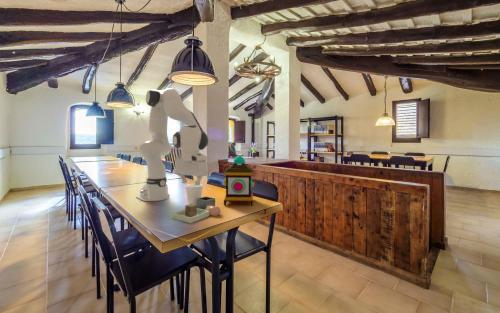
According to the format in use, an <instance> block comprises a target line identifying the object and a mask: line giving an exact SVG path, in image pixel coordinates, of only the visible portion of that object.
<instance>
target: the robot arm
mask: <svg viewBox="0 0 500 313" xmlns="http://www.w3.org/2000/svg"><path fill="white" fill-rule="evenodd" d="M145 102H146V104H147V105H148V106H149V107H151V108H150V113H149V119H148V120H149V121H148V122H149V123H148V132H149V133H150V134H151V137H152V140H147V141H143V142H142V143H141V144H140V145H139V148H138V149H139V153H140V155H141V156H142V157H143V158H144V160H145V163H146V167H147V178H146V182H145V184H144V185H143V186H142V187H141V188H140V191H139V192H140V194H138V195H136V198H137V199H139V200H141V201H143V202H158V201H165V200H167V199H169V198H170V194H169V188H168V187H169V186H168V184H167V181H168V180H167V174H166V165H165V163H164V162H163V160H162V157H165V156H168V155H169V154H170V153H171V152H172V145H173V146H174V148H175V149H177V150H180V153H181V155H179V156H177V157H176V159H175V165H174V173H175V174H176V175H179V176H180V179H181V181H182V184H186V183H188V180H187V178H186V176H194V177H196V180H195V182H194V184H196V185H200V184H201V181H202V178H203V177H206V176H208V174H209V166H208V156H207V155H205V154H203V153H201V152H200V150H201V151H202V150H204V149H205V148H206V147H208V144H209V137H208V135H207V134H206V132H205V131H204V130H203V128H202V127H201V125H200V123H199V121H198V119H197V118H196V116H195V114H194V113H193V112H192V111H191V110H189V108H187V107H186V105H185V104H184V102H183V97H182V95H181V94H180V93H179V92H178V91H177V90H176V89H175V88H173V87H172V88H171V87H169V88H166V89H165V90H162V89H160V90H159V89H149V90H147V92H146V94H145ZM168 118H169V119H171V120H174V121H179V122H181V123H184V124H182V125H181V128H180V129H179V131H176V132H175V133H174V134H173V135H172V145H171V143H170V142H169V138H168V120H169V119H168Z"/></svg>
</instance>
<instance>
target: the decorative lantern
mask: <svg viewBox="0 0 500 313" xmlns="http://www.w3.org/2000/svg"><path fill="white" fill-rule="evenodd" d="M253 170H254V169H253V168H252V167H251V166H249V165H247V163H246V162H245V158H244V157H243V156H242V155H237V156H236V157H234V160H233V164H231V165H230V166H228V167H227V168H226V169H225V171H224V172H223V174H224V175H225V178H224V180H223V186H225V196H224V198H223V205H224V206H225V207H226V206H227V203H228V202H229V203H231V202H236V203H237V202H238V203H240V202H241V203H242V202H243V203H246V202H247V203H249V205H250V207H253V204H254V203H253V202H254V199H253V198H254V194H253V192H252V188H254V187H255V186H256V183H255V181H254V180H252V175H253Z"/></svg>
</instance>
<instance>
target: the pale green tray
mask: <svg viewBox="0 0 500 313" xmlns="http://www.w3.org/2000/svg"><path fill="white" fill-rule="evenodd" d="M210 216H211V215H210V211H207V210H202V209H198V208H197V215H196V216H193V217H191V218H190V217H186V216H185V208H184V209H181V210H178V211H175V212H172V213H171V218H172V219H174V220H178V221H182V222H185V223H189V224H193V223H195V222H198V221H199V220H203V219H205V218H207V217H208V218H209V217H210Z"/></svg>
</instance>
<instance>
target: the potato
mask: <svg viewBox="0 0 500 313" xmlns="http://www.w3.org/2000/svg"><path fill="white" fill-rule="evenodd" d="M206 210H207V211H210V216H211V217H217V216H219V215H220V214H221V208H220V206H216V205H215V206H211V205H208V206H207V207H206Z"/></svg>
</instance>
